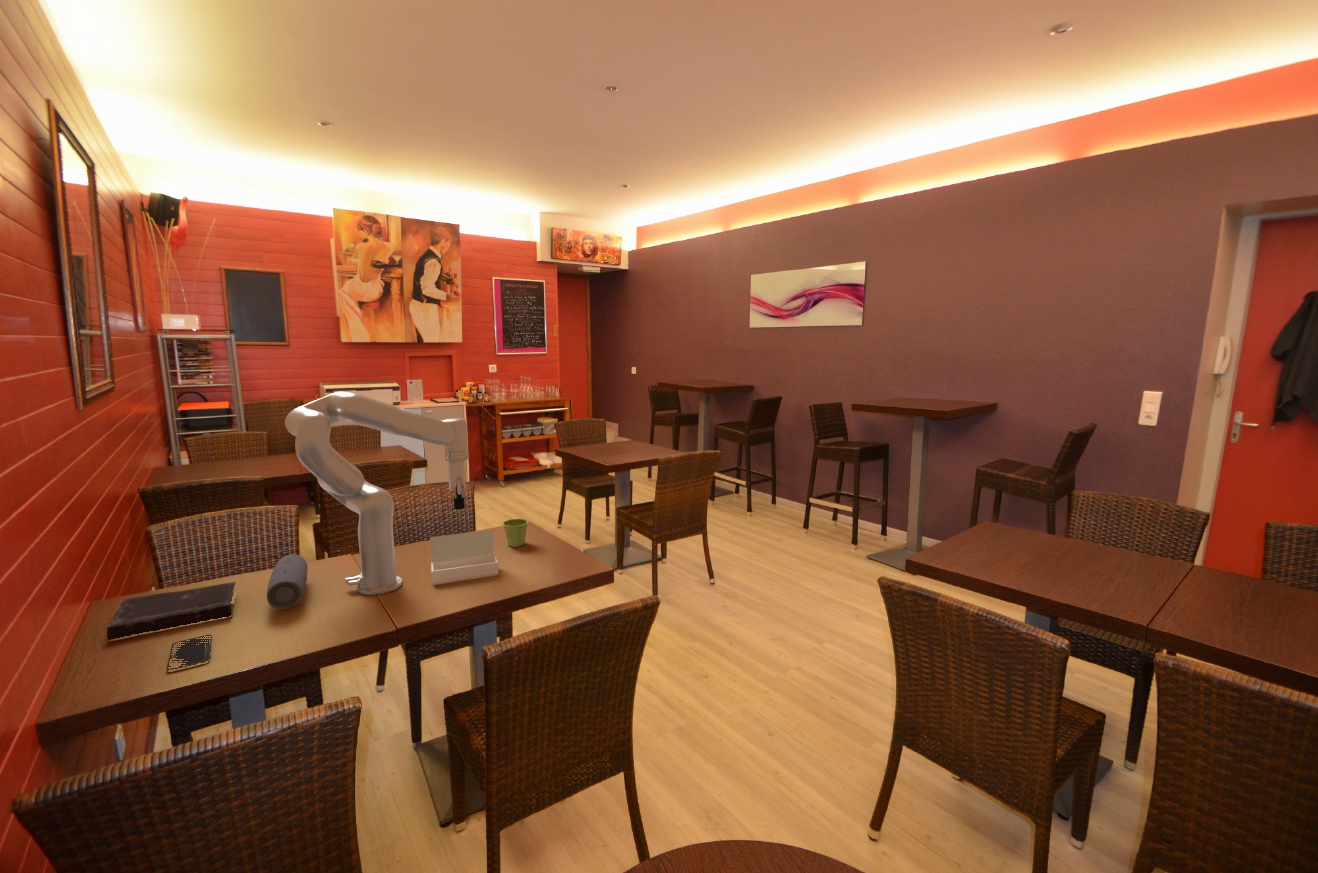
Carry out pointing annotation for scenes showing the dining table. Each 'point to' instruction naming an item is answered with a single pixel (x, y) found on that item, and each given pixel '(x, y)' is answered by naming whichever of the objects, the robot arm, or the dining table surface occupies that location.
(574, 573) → the dining table surface
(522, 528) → the plant pot
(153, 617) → the diary
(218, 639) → the dining table surface
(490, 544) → the cover
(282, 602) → the bluetooth speaker
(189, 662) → the phone
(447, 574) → the white hinged box
